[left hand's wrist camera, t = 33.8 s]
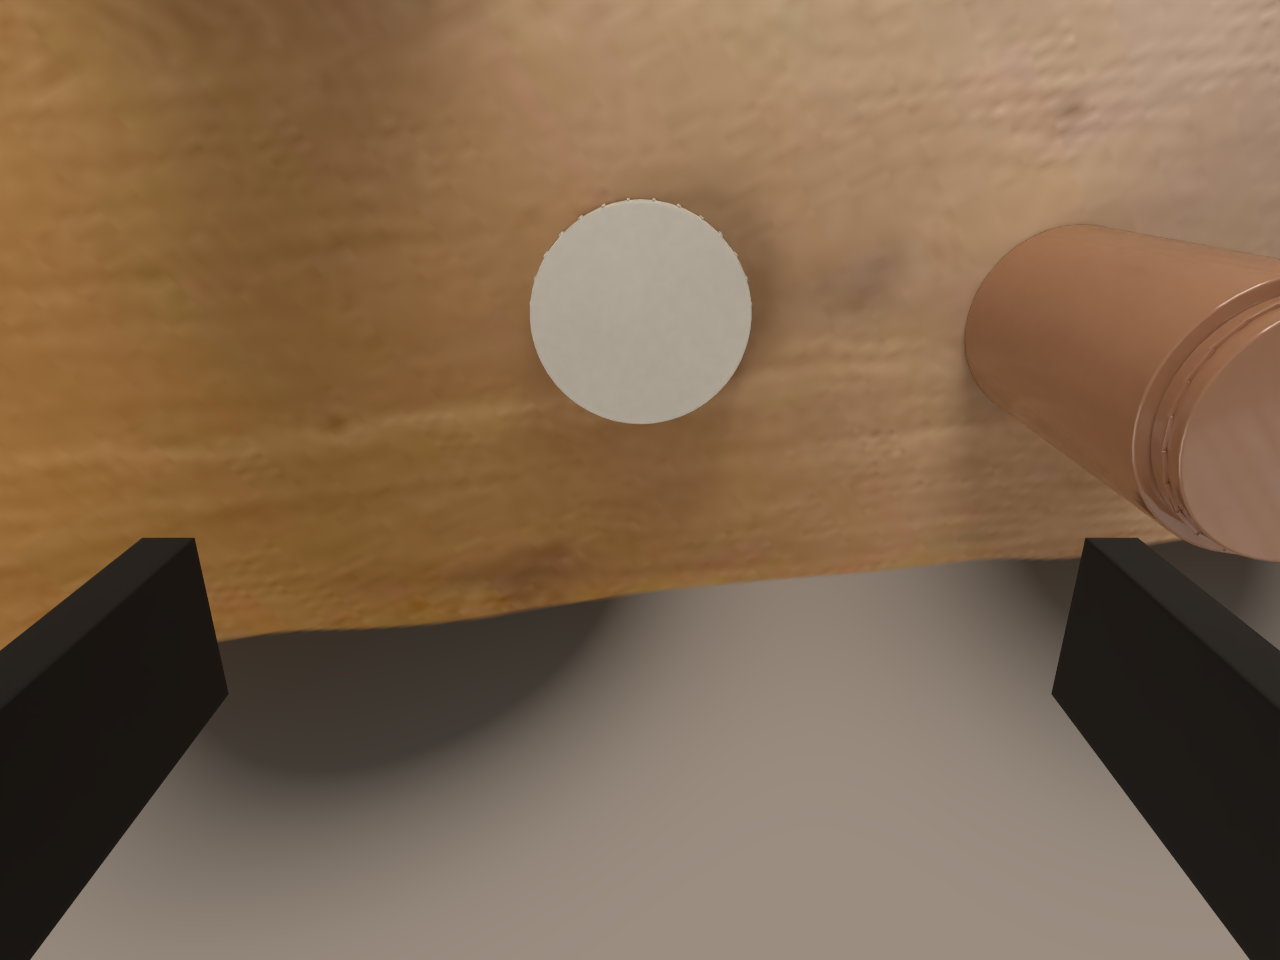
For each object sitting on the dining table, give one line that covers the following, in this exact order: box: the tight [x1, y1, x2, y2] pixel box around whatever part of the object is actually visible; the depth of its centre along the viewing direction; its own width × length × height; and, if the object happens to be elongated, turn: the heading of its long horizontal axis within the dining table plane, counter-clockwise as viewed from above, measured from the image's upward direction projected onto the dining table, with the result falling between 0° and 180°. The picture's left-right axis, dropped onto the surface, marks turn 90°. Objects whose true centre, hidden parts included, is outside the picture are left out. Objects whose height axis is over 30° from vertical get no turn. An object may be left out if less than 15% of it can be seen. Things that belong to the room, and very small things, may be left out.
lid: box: [529, 198, 752, 424], centre depth 36 cm, size 10×10×2 cm
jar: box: [965, 224, 1280, 562], centre depth 30 cm, size 9×9×15 cm
